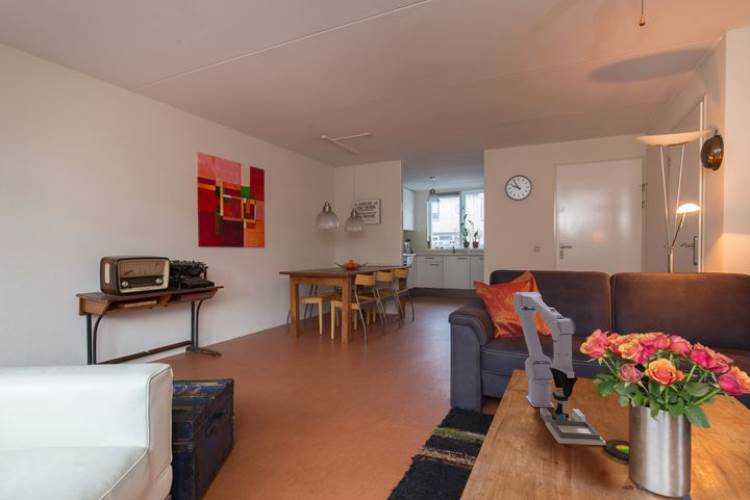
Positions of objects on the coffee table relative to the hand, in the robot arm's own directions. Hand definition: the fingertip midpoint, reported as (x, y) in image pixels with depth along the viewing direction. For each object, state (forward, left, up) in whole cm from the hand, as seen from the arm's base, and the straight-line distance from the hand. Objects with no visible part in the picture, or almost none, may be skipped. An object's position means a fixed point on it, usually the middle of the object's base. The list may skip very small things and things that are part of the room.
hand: (563, 391), depth 134 cm
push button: (0, 0, -11) cm, 11 cm away
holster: (0, 0, -10) cm, 10 cm away
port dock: (+10, 0, -10) cm, 14 cm away
